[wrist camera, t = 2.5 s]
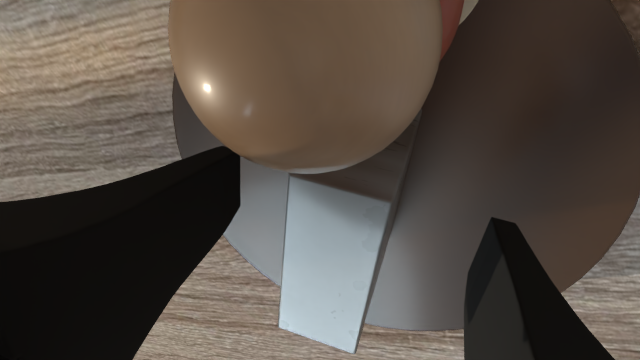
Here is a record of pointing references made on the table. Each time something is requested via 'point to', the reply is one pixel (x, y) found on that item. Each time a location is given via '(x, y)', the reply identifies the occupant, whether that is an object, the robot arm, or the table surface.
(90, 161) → the table surface
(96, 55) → the table surface
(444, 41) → the disc
